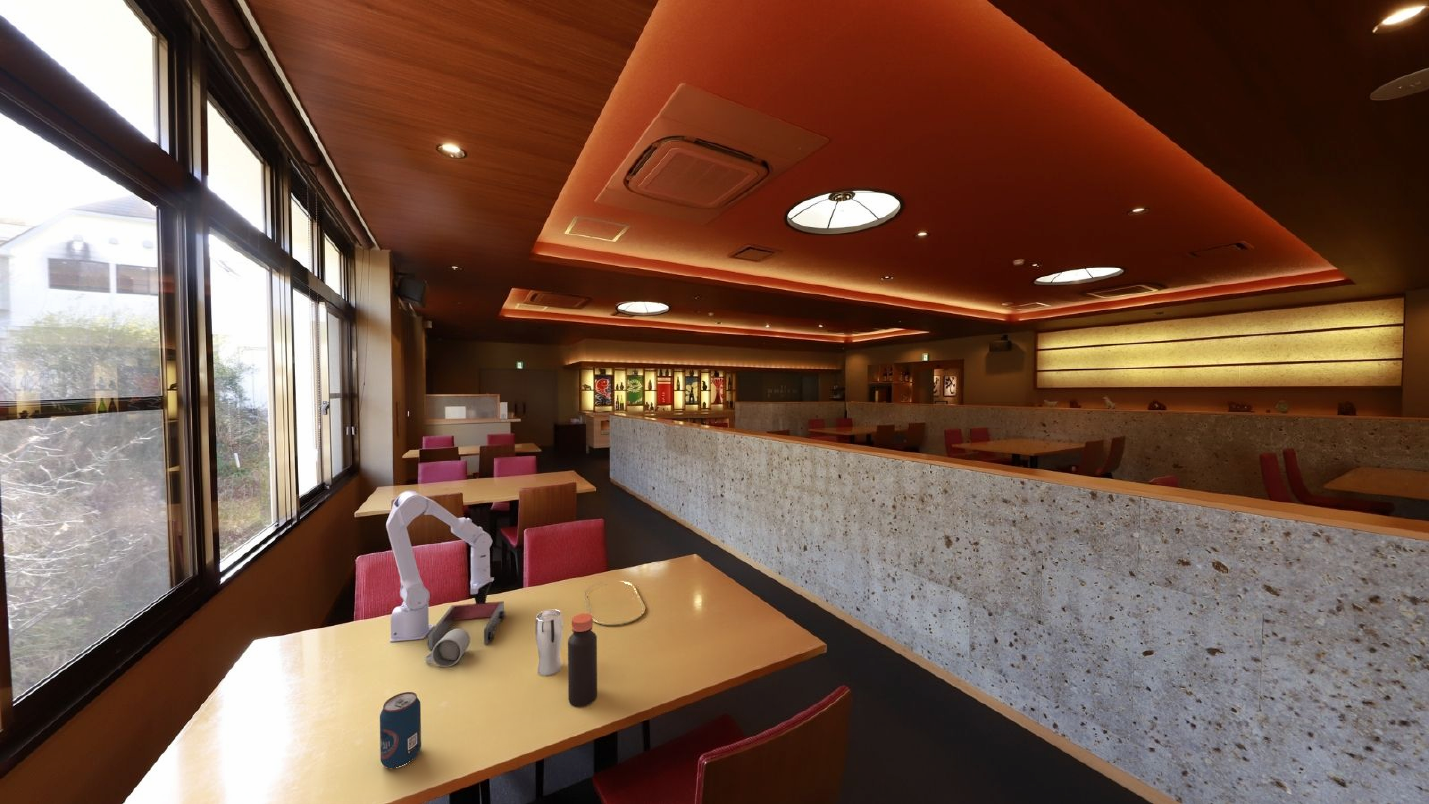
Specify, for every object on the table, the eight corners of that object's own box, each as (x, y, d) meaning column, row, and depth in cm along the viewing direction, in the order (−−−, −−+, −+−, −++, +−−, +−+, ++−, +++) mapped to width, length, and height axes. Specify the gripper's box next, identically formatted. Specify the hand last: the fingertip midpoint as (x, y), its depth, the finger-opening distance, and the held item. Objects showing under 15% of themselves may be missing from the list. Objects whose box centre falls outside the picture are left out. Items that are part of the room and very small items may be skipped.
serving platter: (592, 633, 145) (592, 628, 145) (581, 588, 177) (581, 584, 177) (650, 622, 152) (650, 617, 152) (630, 581, 184) (630, 577, 184)
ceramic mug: (472, 649, 135) (471, 623, 135) (461, 666, 127) (460, 638, 127) (432, 653, 133) (431, 627, 133) (419, 670, 125) (418, 642, 125)
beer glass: (557, 677, 122) (557, 621, 121) (531, 677, 122) (530, 621, 121) (566, 661, 129) (566, 608, 128) (541, 661, 129) (541, 608, 128)
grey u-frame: (425, 650, 134) (425, 634, 134) (449, 619, 152) (449, 605, 152) (490, 643, 137) (490, 628, 137) (506, 614, 155) (506, 601, 155)
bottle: (573, 689, 117) (573, 611, 116) (600, 689, 117) (599, 611, 116) (564, 707, 110) (563, 624, 110) (592, 708, 110) (591, 625, 109)
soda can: (372, 766, 93) (371, 707, 93) (406, 741, 99) (405, 686, 99) (396, 776, 90) (395, 716, 90) (429, 750, 97) (428, 694, 97)
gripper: (486, 574, 150) (487, 615, 150) (498, 558, 164) (499, 595, 165) (463, 575, 149) (463, 617, 149) (477, 559, 163) (478, 597, 163)
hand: (481, 606), depth 157 cm, fingers closed
